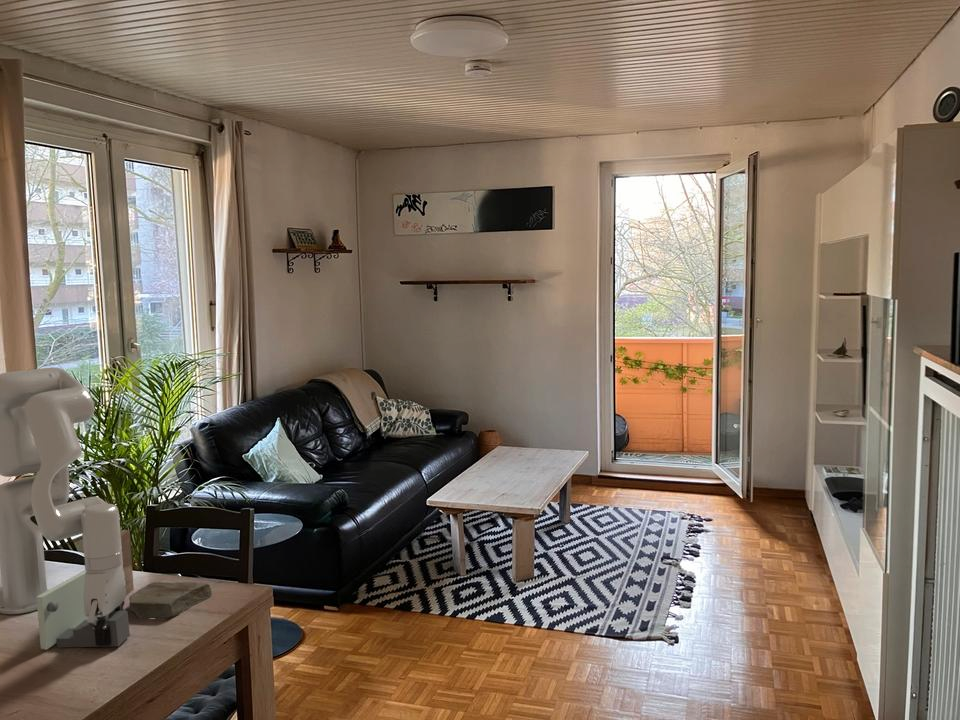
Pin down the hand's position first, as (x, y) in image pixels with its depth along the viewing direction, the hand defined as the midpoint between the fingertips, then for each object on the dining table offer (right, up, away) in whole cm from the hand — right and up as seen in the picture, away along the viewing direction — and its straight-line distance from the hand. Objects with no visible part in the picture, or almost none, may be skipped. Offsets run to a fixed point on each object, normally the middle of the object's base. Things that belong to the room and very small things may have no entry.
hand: (110, 637), depth 173 cm
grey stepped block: (-4, -1, 0) cm, 4 cm away
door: (-11, 0, +5) cm, 12 cm away
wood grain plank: (-9, +1, +22) cm, 23 cm away
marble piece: (+5, +1, +19) cm, 20 cm away
